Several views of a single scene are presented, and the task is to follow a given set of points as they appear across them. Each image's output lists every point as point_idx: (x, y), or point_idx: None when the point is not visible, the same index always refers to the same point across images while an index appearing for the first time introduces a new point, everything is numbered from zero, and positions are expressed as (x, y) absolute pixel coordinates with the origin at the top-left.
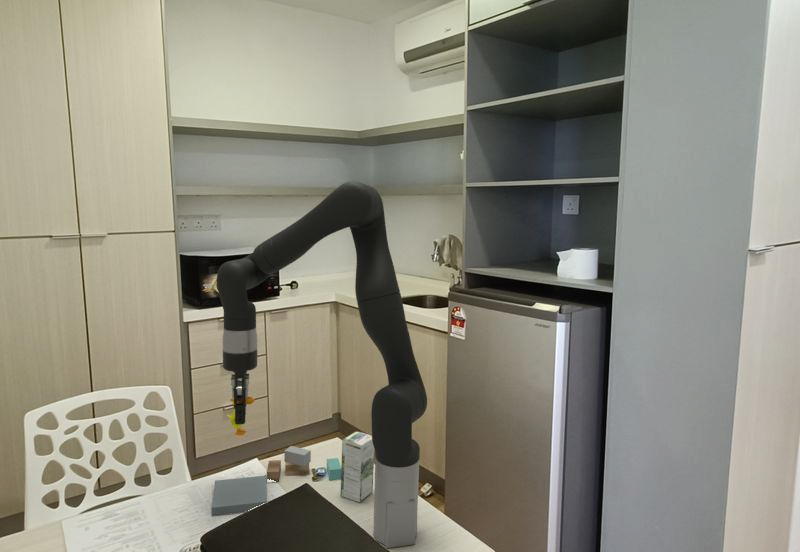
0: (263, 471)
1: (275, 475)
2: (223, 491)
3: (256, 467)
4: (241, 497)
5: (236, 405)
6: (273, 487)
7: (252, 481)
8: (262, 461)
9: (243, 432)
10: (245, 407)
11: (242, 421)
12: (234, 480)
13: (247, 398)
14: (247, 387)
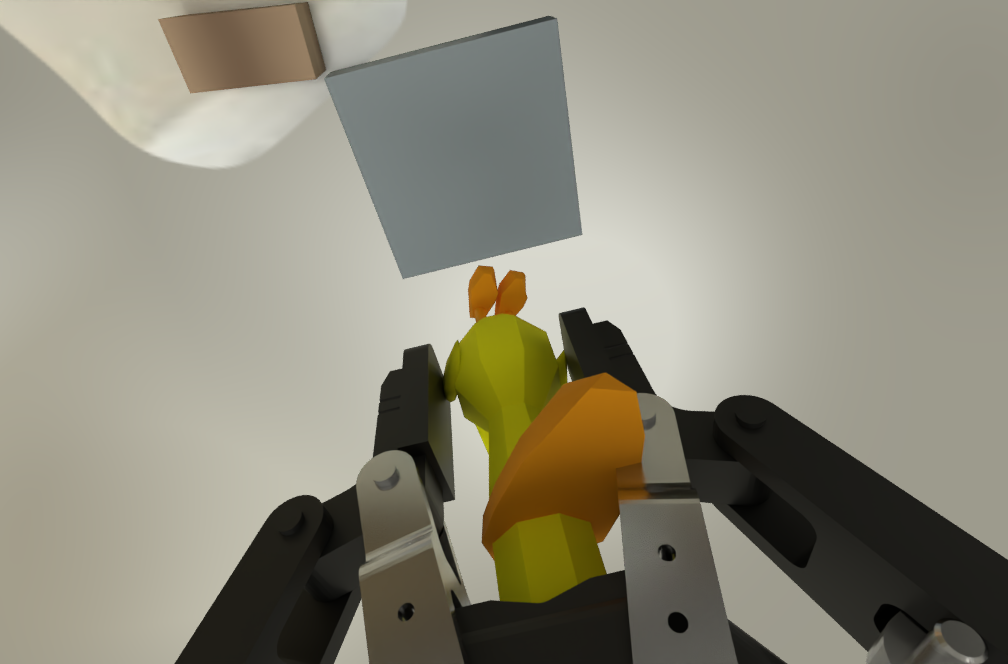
0: (227, 110)
1: (305, 25)
2: (477, 227)
3: (201, 153)
4: (520, 147)
5: (770, 488)
6: (363, 23)
7: (391, 133)
8: (131, 137)
9: (494, 279)
10: (758, 403)
11: (613, 331)
12: (393, 211)
13: (577, 464)
14: (728, 639)
